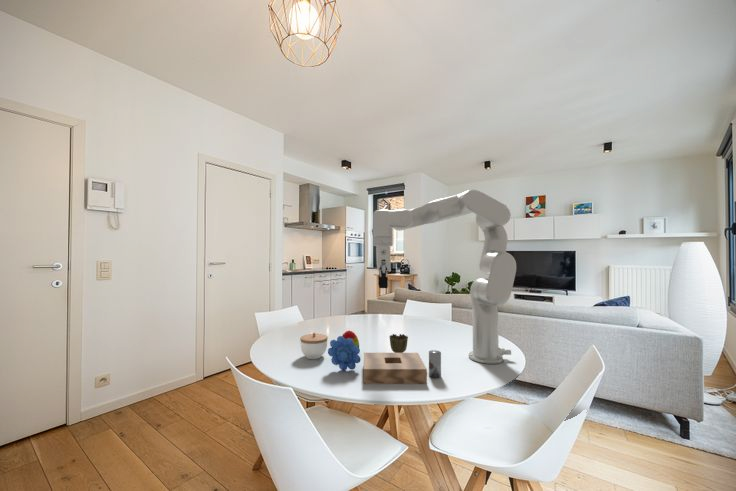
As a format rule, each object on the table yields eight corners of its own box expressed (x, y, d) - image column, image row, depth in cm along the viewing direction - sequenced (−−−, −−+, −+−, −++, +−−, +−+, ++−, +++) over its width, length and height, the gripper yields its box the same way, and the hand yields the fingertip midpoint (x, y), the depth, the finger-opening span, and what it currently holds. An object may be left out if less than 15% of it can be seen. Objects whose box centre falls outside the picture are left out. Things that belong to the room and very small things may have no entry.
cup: (407, 353, 124) (407, 333, 125) (408, 359, 117) (408, 338, 117) (389, 352, 125) (389, 333, 125) (389, 358, 118) (389, 338, 118)
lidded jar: (326, 351, 126) (327, 329, 126) (327, 360, 115) (328, 336, 116) (300, 353, 124) (301, 330, 124) (299, 362, 114) (299, 337, 114)
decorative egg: (355, 351, 126) (356, 327, 126) (361, 358, 118) (361, 332, 119) (336, 353, 123) (337, 329, 124) (341, 360, 116) (341, 334, 116)
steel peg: (439, 373, 103) (439, 350, 103) (442, 378, 99) (442, 354, 99) (427, 373, 103) (427, 350, 103) (430, 378, 99) (430, 354, 99)
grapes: (325, 375, 102) (326, 339, 102) (328, 367, 108) (328, 334, 109) (360, 375, 101) (360, 339, 102) (360, 367, 108) (360, 334, 109)
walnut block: (417, 365, 111) (417, 352, 111) (426, 383, 95) (426, 369, 95) (363, 364, 111) (363, 352, 111) (363, 383, 95) (363, 369, 95)
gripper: (394, 241, 107) (394, 289, 107) (391, 243, 125) (391, 284, 124) (373, 241, 107) (373, 289, 107) (373, 243, 125) (373, 284, 124)
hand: (382, 286), depth 115 cm, fingers open, 9 cm apart
